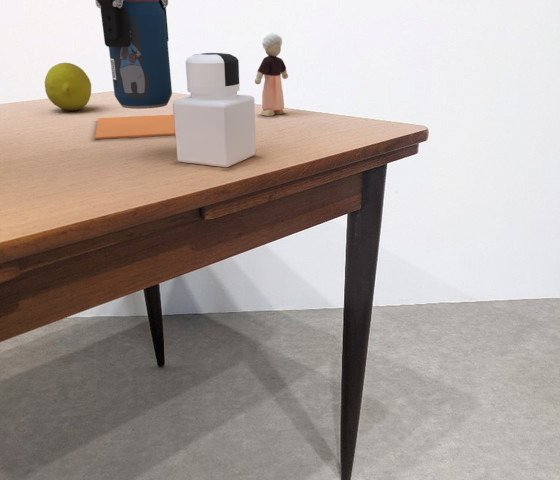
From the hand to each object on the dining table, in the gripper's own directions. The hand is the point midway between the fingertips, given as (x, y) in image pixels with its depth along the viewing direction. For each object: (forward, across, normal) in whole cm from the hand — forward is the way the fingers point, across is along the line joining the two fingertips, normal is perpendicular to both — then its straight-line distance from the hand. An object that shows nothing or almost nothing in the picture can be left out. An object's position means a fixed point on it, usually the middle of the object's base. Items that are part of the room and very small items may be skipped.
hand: (138, 43), depth 72 cm
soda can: (+7, 0, 0) cm, 7 cm away
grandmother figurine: (+13, -32, +3) cm, 35 cm away
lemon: (+13, -23, -32) cm, 42 cm away
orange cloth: (+13, -17, -8) cm, 22 cm away
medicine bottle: (+13, 0, +10) cm, 16 cm away
